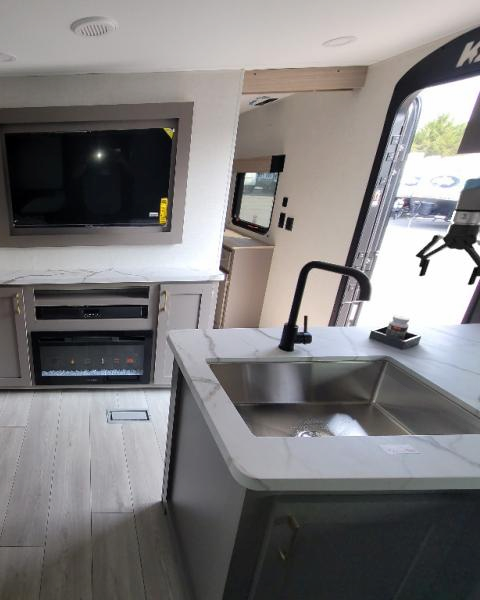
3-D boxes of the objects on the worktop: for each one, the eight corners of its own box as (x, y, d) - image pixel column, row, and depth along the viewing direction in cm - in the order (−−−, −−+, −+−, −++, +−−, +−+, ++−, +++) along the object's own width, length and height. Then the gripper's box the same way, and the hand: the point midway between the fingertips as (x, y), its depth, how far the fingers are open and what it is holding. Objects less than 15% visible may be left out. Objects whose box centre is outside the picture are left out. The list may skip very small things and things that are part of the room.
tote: (418, 343, 131) (421, 335, 130) (402, 349, 127) (405, 341, 126) (384, 332, 141) (387, 325, 140) (368, 337, 137) (371, 330, 136)
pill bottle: (388, 341, 133) (395, 319, 129) (381, 335, 138) (388, 314, 134) (406, 343, 131) (414, 321, 127) (398, 337, 136) (406, 315, 132)
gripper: (415, 221, 127) (399, 273, 134) (515, 228, 105) (489, 290, 113) (425, 219, 130) (408, 271, 137) (524, 226, 108) (498, 286, 115)
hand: (445, 279), depth 125 cm, fingers open, 13 cm apart
